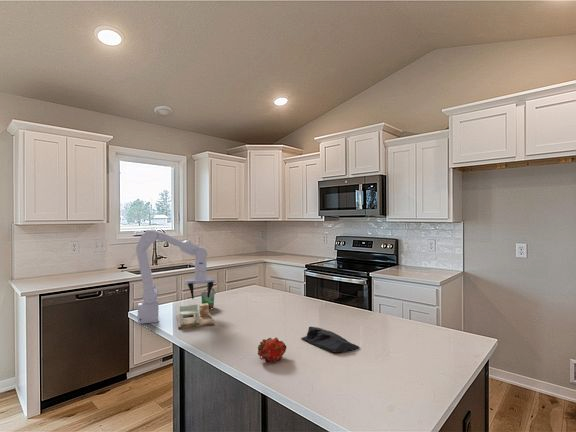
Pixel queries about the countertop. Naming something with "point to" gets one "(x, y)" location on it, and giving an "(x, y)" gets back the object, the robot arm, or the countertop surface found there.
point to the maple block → (204, 309)
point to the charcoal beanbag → (328, 340)
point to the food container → (208, 300)
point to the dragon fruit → (271, 349)
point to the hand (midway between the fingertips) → (200, 297)
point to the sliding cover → (189, 312)
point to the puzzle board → (191, 322)
